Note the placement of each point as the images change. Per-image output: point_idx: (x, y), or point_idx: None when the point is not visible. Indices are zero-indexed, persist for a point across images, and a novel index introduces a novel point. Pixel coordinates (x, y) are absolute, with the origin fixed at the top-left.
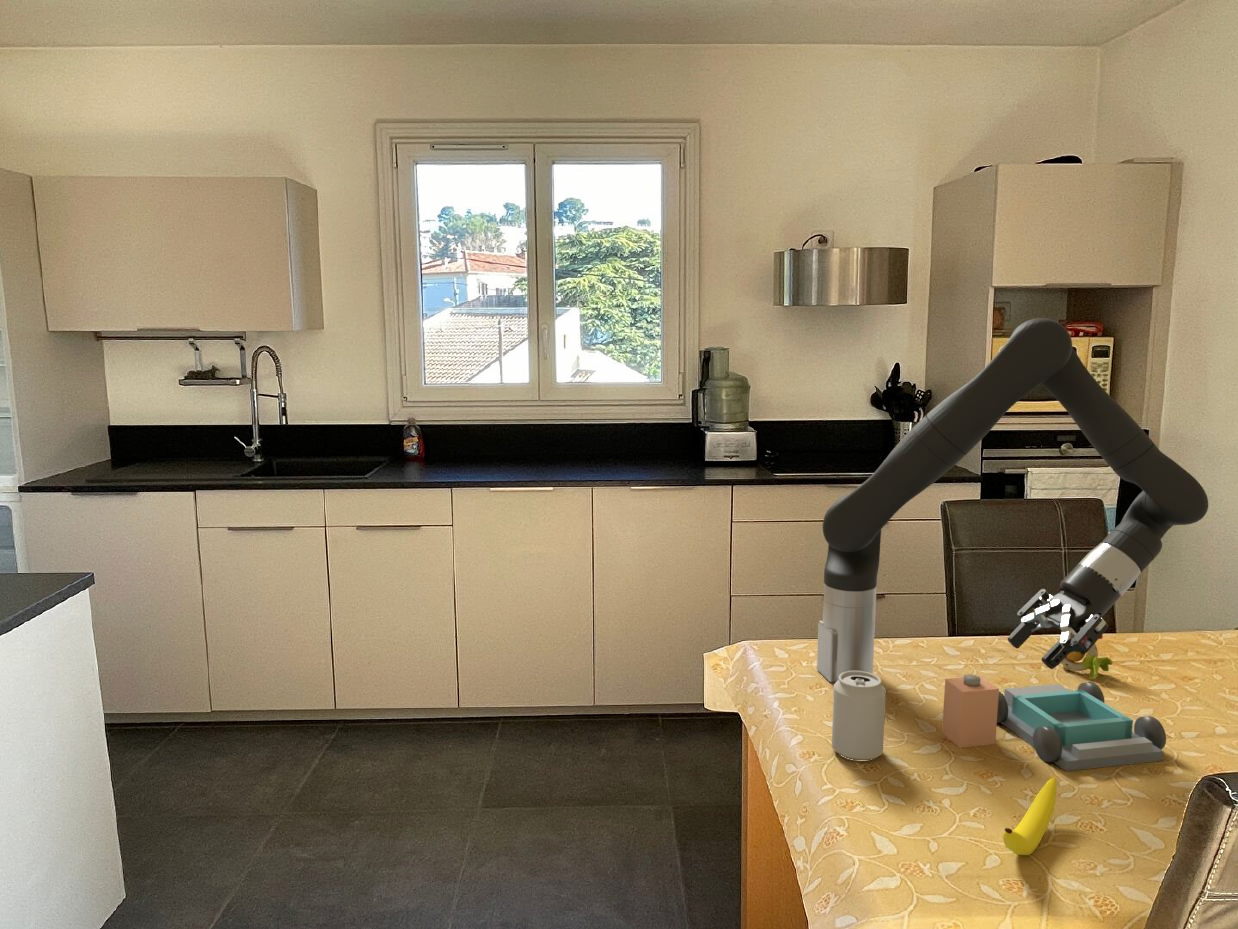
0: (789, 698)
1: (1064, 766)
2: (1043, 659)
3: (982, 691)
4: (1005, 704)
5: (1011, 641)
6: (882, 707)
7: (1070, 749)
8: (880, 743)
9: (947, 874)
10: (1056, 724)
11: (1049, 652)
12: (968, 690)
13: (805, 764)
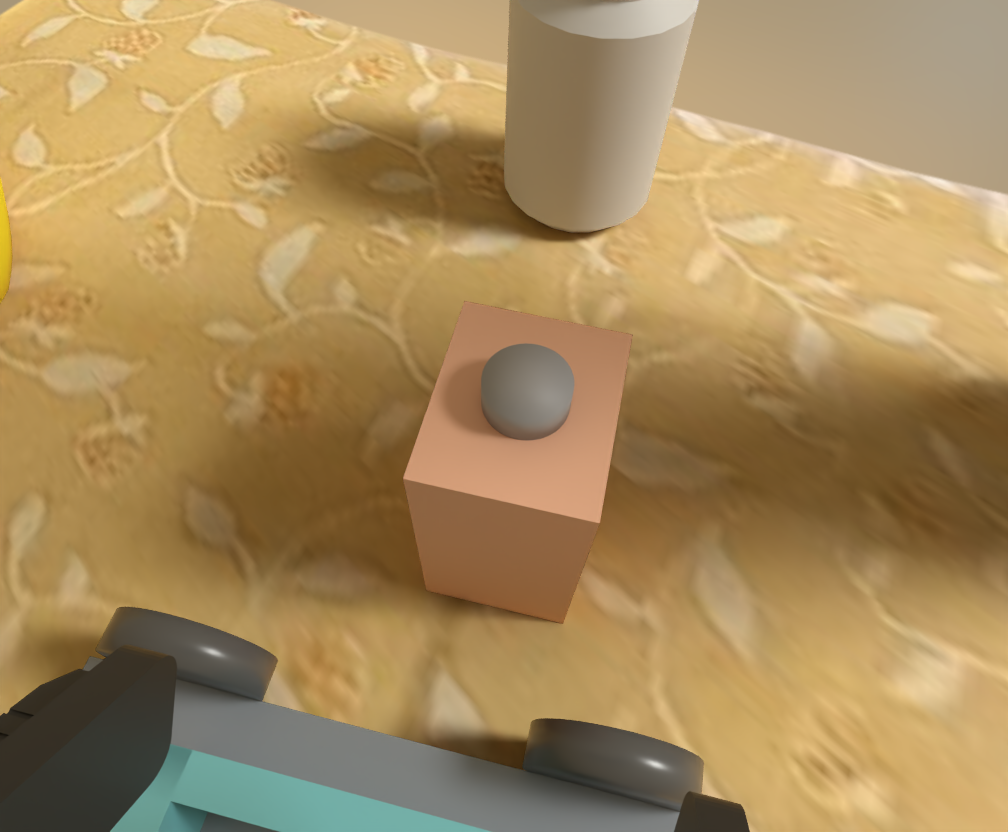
0: (973, 224)
1: None
2: (142, 649)
3: (433, 393)
4: (541, 751)
5: (687, 810)
6: (518, 53)
7: None
8: (512, 167)
9: (74, 71)
10: (178, 755)
11: (75, 701)
12: (464, 330)
13: None
